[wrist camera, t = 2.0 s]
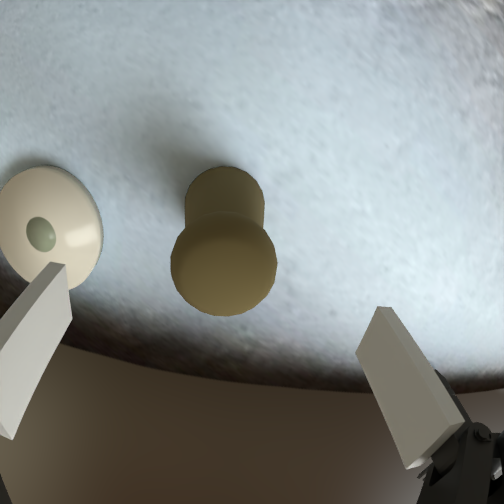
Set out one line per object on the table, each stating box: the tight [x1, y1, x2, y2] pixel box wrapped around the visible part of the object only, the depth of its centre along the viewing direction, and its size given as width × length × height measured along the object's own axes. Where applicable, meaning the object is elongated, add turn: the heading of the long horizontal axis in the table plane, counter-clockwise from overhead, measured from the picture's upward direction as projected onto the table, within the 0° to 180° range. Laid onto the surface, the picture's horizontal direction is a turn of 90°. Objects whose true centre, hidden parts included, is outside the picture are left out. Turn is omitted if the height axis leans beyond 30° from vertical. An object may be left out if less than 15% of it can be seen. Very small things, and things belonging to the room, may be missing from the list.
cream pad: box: [0, 165, 104, 290], centre depth 23 cm, size 11×11×2 cm
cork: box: [171, 166, 277, 316], centre depth 19 cm, size 6×6×11 cm
